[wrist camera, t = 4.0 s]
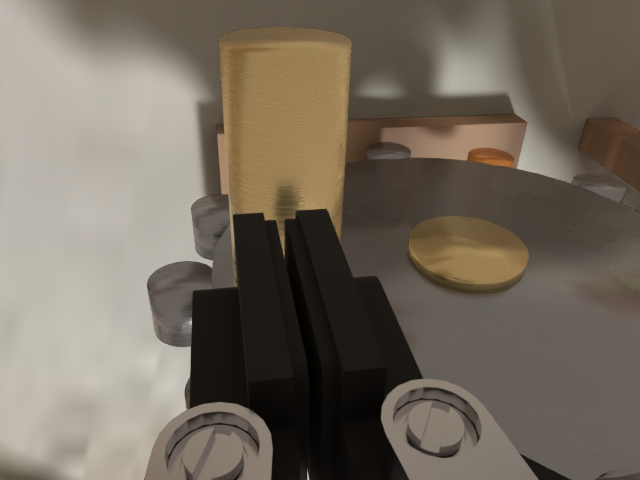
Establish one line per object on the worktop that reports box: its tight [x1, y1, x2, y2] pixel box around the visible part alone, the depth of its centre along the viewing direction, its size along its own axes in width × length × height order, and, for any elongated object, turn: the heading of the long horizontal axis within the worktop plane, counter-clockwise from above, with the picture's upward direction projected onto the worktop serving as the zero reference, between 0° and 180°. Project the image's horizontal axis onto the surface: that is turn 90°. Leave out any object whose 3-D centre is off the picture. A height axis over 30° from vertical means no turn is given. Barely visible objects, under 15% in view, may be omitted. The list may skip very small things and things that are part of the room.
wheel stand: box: [217, 114, 640, 194], centre depth 29 cm, size 25×8×15 cm, turn 88°
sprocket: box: [147, 27, 640, 480], centre depth 19 cm, size 23×11×23 cm, turn 88°
